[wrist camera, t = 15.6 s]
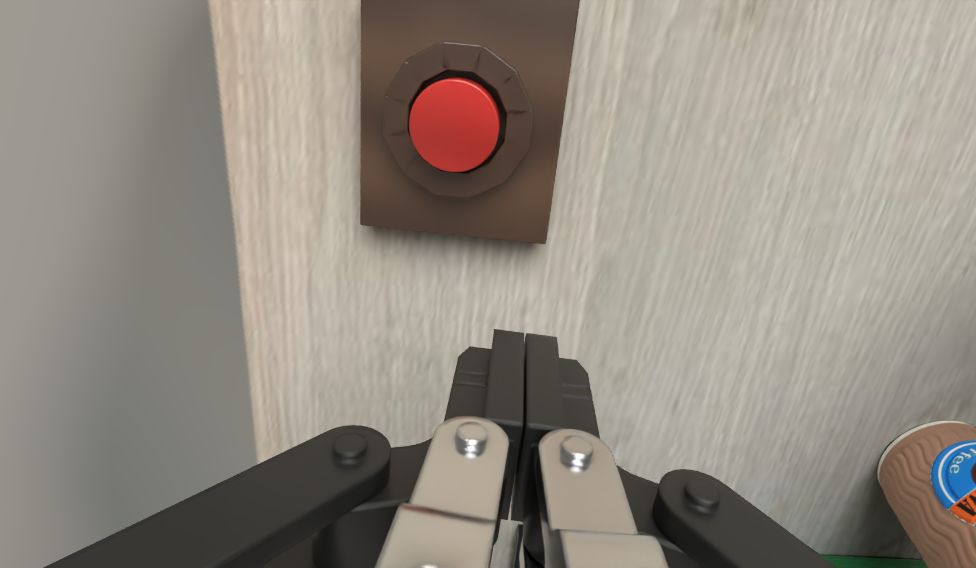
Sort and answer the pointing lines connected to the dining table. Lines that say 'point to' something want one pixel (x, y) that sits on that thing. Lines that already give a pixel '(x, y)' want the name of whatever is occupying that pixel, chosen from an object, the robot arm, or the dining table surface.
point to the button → (454, 124)
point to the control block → (503, 73)
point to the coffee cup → (935, 490)
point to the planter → (873, 562)
